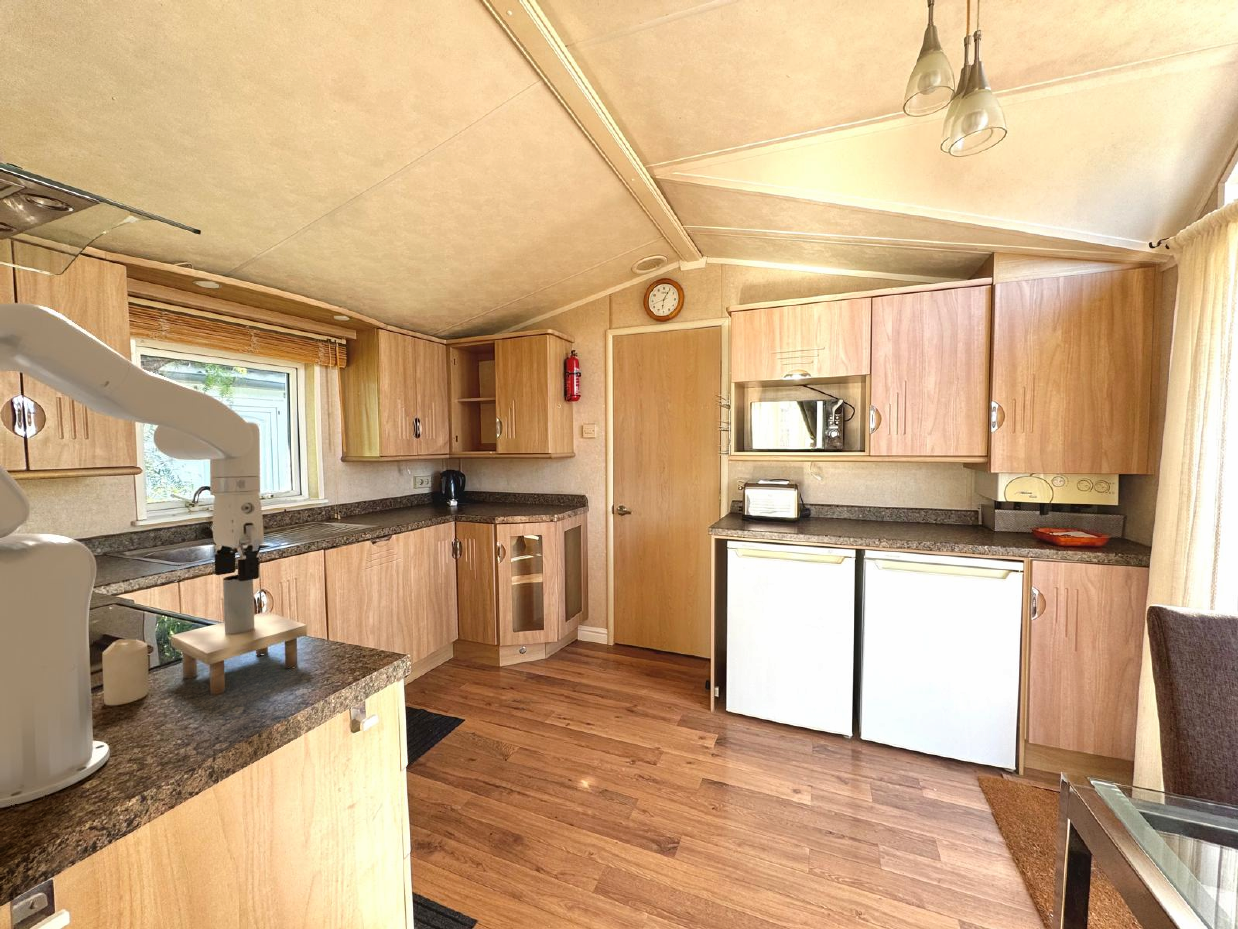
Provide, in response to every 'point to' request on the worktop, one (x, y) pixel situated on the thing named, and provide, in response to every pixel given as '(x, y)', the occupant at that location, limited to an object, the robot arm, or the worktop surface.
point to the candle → (125, 672)
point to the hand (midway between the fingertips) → (236, 576)
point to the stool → (236, 645)
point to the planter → (238, 605)
